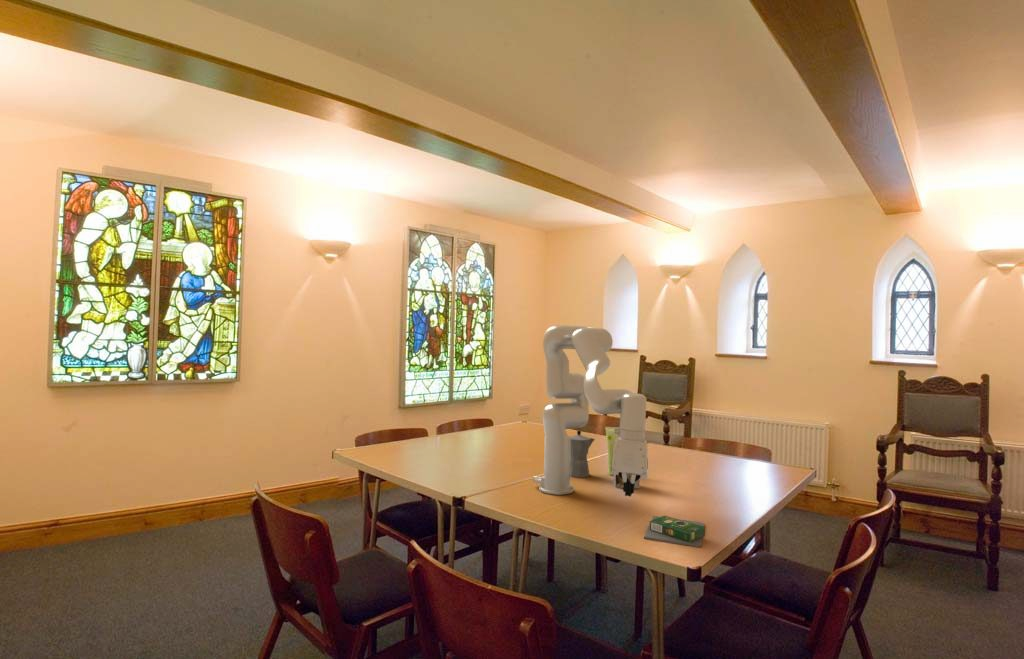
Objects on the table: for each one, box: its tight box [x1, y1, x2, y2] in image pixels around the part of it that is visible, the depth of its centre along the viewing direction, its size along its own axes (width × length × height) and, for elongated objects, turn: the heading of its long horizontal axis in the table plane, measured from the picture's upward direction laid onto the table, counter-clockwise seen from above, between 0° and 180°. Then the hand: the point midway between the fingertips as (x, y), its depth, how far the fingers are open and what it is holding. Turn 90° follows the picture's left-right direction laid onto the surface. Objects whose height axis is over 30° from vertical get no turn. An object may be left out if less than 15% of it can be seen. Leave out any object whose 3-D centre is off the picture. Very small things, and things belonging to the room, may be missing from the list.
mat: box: [643, 515, 706, 548], centre depth 158 cm, size 15×20×1 cm
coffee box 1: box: [613, 442, 640, 489], centre depth 207 cm, size 9×6×16 cm
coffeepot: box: [568, 430, 596, 479], centre depth 223 cm, size 15×9×18 cm, turn 94°
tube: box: [604, 426, 620, 477], centre depth 225 cm, size 6×5×20 cm
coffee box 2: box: [649, 515, 706, 543], centre depth 155 cm, size 8×3×13 cm
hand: (628, 494), depth 165 cm, fingers closed
